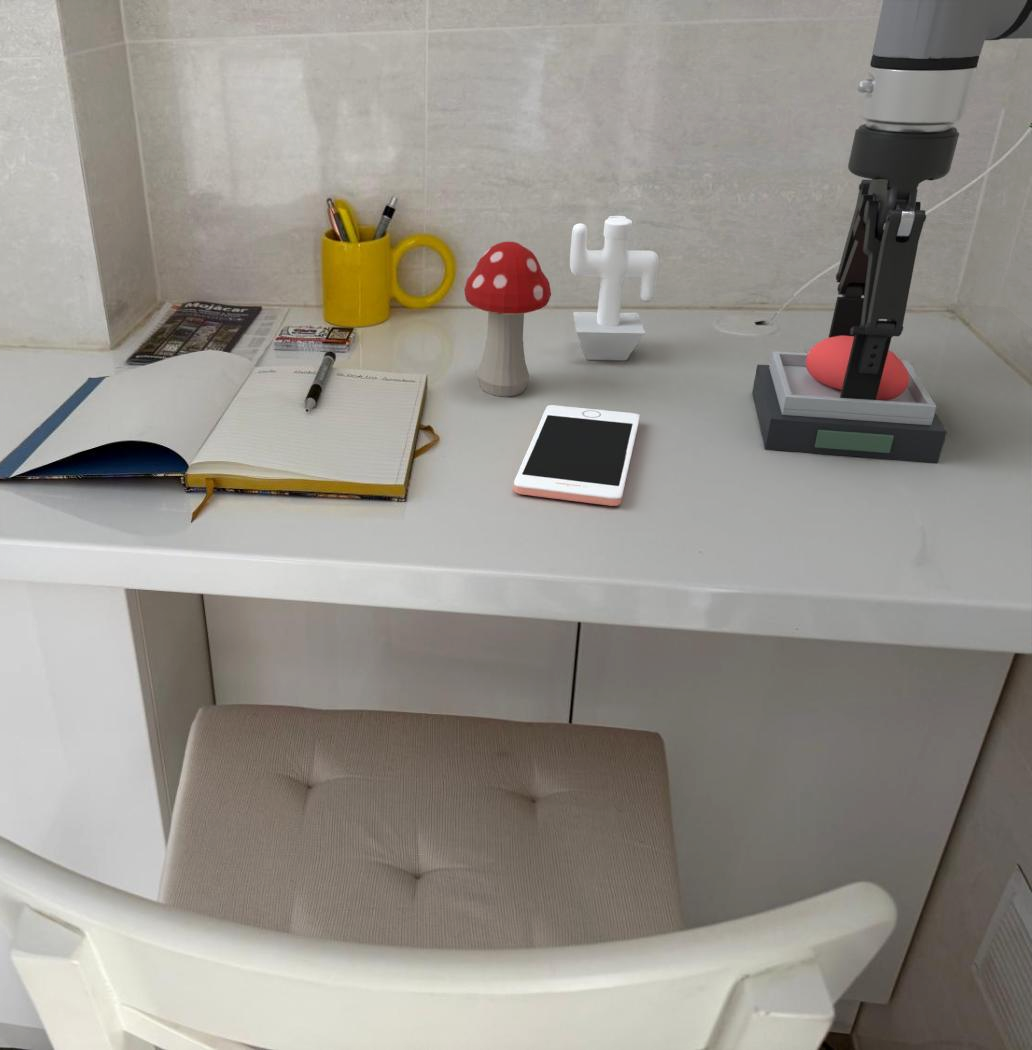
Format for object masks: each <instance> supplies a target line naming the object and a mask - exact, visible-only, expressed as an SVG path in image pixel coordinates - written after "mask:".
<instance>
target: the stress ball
mask: <svg viewBox="0 0 1032 1050" xmlns="http://www.w3.org/2000/svg"><path fill="white" fill-rule="evenodd" d="M853 340H854V336H835V337H830V338H828V337H826V338H823V339H822V340H821V341H819V342H817V343H816V344H814V345H813V346H812V347H811V348H810V350H809V351H808V352H807V353H808V355H807V358H806V368H807V371H808V372H809V374H810V375H811V376H812V377H813V378H814V379H815V380H817V381H819V382H820V383H822V384H825V385H827V386H830V387H833V388H837V389H840V390H842V387H843V382H844V378H845V374H846V369H847V365H848V361H849V357H850V352H851V348H852V344H853ZM899 358H900V357H898V356H897V355H896V354H895V353H894V352H893V351H891V350H890V349H889V350H888V354H887V358H886V362H885V366H884V370H883V374H882V377H881V381H880V385H879V389H878V393H877V397H876V400H890V399H894V398H896V397H898V396H900V395H901V394H902V393H903V392H904V391H905V390H906V388H907V387H908V384H909V374H908V371H907V369H906V367H905V366H904V364H903V363H902V361H901V360H900V359H899Z"/></svg>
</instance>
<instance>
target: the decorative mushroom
mask: <svg viewBox="0 0 1032 1050" xmlns="http://www.w3.org/2000/svg"><path fill="white" fill-rule="evenodd" d="M551 291H552V290H551V285H550V281H549V279H548V278H547V276H546V275H545V273H544V272H543V270H542V268H541V265H540V263H539V260H538V258H537V257H536V255H535V254H534V252H533V251H532V250H530V249H529V248H528V247H527V246H525V245H524V244H521V243H519V242H515V241H502V242H501V241H500V242H498V243H496V244H494V245H492V246H490V247H489V248H488V249H486V251H485V252H483V254H482V256H481V257H480V258H479V260H478V262H477V263H476V266H475V268H474V270H473V271H472V273H470V275H469V276H468V278H467V279H466V282H465V285H464V297H465V300H466V302H467V303H468V304H469V305H470V306H473V307H475V308H476V309H479V310H482V311H484V312H488V313H487V314H488V315H487V331H486V341H485V344H484V350H483V354H482V358H481V361H480V363H479V366H478V368H477V370H476V372H477V373H476V374H477V378H478V383H479V387H480V388H481V390H482V391H483V392H485V393H487V394H489V395H492V396H497V397H506V398H507V397H508V398H509V397H514V396H518V395H520V394H522V393H523V392H525V389H526V387H527V384H528V382H529V379H530V373H529V370H528V367H527V364H526V358H525V348H524V347H525V346H524V322H525V321H524V320H525V314H528V313H532V312H535V311H538V310H541V309H543V308H545V307H546V306H547V305H548V304H549V302H550V300H551V296H552V292H551Z"/></svg>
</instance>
